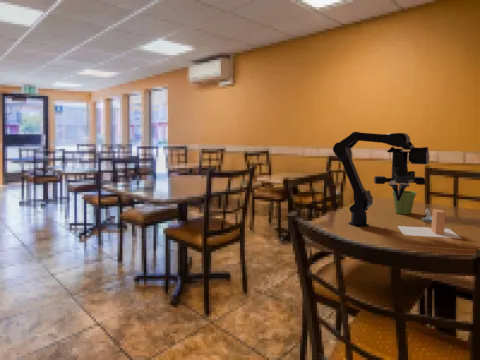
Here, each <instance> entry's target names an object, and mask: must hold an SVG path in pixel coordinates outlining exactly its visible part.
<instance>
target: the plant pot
mask: <svg viewBox="0 0 480 360" xmlns="http://www.w3.org/2000/svg"><path fill="white" fill-rule="evenodd" d="M391 193H392V197H393V203H394V208H395V214H399V215H411V214H412V212H413V211H412V210H413V206H414V202H415V198H416V195H417V194H418V192H417V191H411V190H404V191H403V193H402V196H401V198H400V200H399V201H397V200H396V197H395V193H394V191H393V190H392V191H391Z"/></svg>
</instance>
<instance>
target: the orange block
mask: <svg viewBox="0 0 480 360" xmlns="http://www.w3.org/2000/svg"><path fill="white" fill-rule="evenodd" d="M431 212H432V215H431V216H432V221H431V222H432V223H431V227H430V228H431V230H432V231H433V232H434V233H435V234H444V229H445V226H446V225H445V223H446V211H443V210H442V209H435V208H433V209H432V211H431Z"/></svg>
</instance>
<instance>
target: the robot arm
mask: <svg viewBox="0 0 480 360" xmlns="http://www.w3.org/2000/svg"><path fill="white" fill-rule="evenodd" d="M358 142H369V143H370V142H371V143H382V144H385V145H388V146H391V147H390V148H389V149H388V150H387V151H386V152H387V153H392V154H391V155H392V159H391V162H392V163H391V177H386V176H385V175H375V176H374V177H373V183H374V184H376V185H384V184H385V183H387V184H388V186H390V187H391V189H392V191H394V193H395V197H396V200H397V201H399V200H400V198H401V196H402V193H403V191H406V190H405V189H407V188H408V187H410V186H411V185H410V183H412V184H415V185H420V186H426V183H427V179H426V178H425V177H423V176H416V171H414V170H409V169H408V168H409V167H408V162H410V163H411V165H429V163H430V151H429V147H428V146H424V147H415V145H413V143H412V141H411V137H410V135H409V134H408V133H405V132H393V133H386V134H385V133H384V134H383V133H370V132H369V133H368V132H360V131H353V132H352V133H350V134H349V135H348V136H347V137H345V138H343V139H342V140H340V141H339V142H336V143H335V144H333V147H332V150H333V153H334V155H335V156H336V158H337V159H338V160H339V161H340V163H341V164H342V167H343V169H344V171H345V174H346V176H347V178H348V181H349V183H350V186H351V189H352V191H353V201H354V203H353V204H351V206H350V207H349V209H348V210H349V212H350V213H351V214H350V215H351V218H350V222H348V224H349V225H352V226H354V227H366V226H370V224H369V223H367V221H368V220H367V219H368V218H367V217H368V216H367V215H368V214H367V213H368V209H369V208H370V207H371V206H373V203H374V202H373V199H374V197H373V196H372V193H371V191H370V189H368V190H366V189H365V187H364V186H363V184H362V181H361V178H360V175H359V173H358V171H357V169H356V166H355V164H354V161H353V152H352V148H353V147H355V145H356V144H357V143H358ZM408 170H409V171H408Z"/></svg>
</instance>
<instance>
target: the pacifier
mask: <svg viewBox="0 0 480 360" xmlns="http://www.w3.org/2000/svg"><path fill="white" fill-rule="evenodd" d="M424 213H425V214H426V216H425V217H421V220H422V221H425V222H426V223H429V224H432V215H431V209H430V208H425V212H424Z"/></svg>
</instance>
